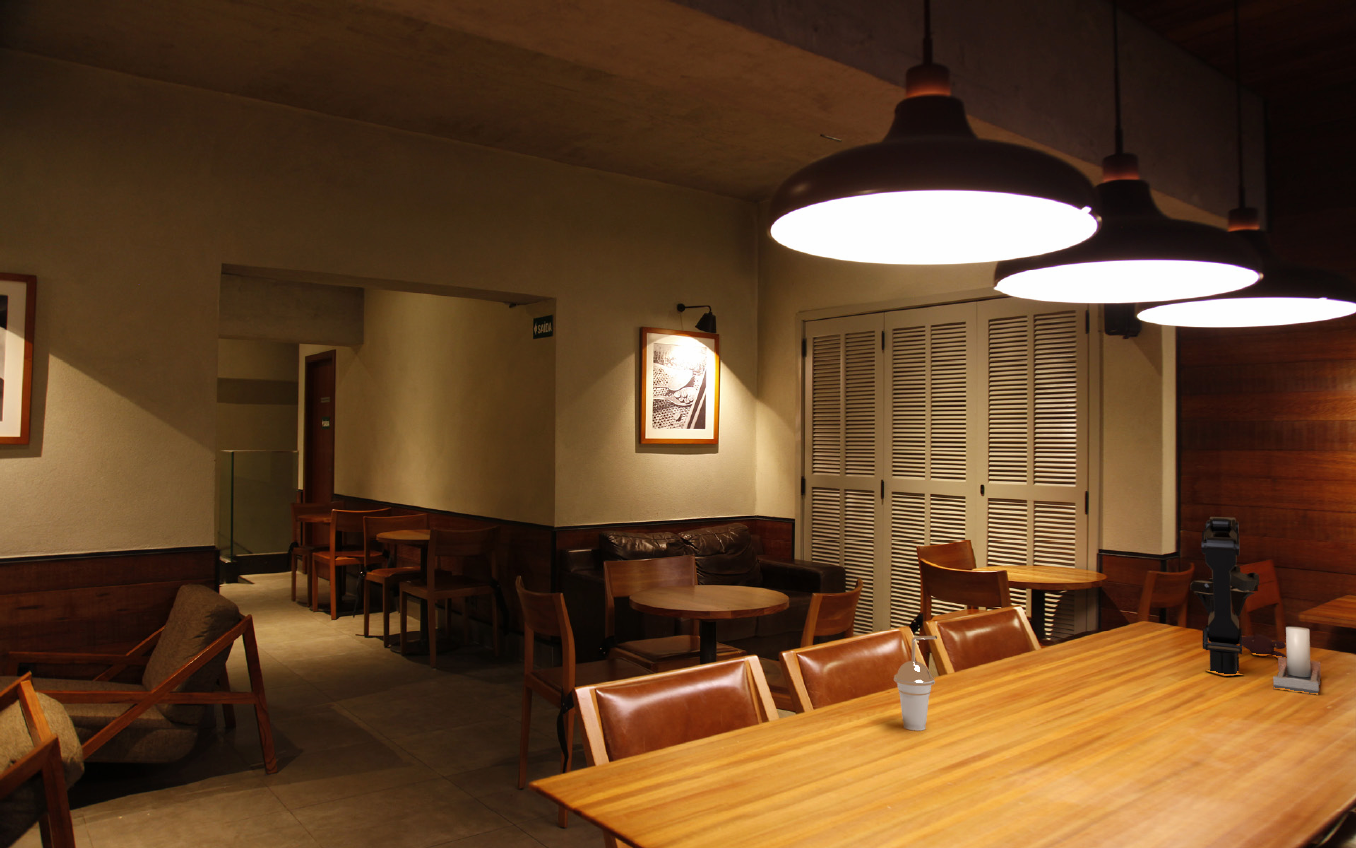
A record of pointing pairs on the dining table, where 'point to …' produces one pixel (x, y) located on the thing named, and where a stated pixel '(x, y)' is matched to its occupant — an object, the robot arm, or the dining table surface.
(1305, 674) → the white cylinder
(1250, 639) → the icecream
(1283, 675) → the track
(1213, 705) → the dining table surface
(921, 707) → the cup with straw
